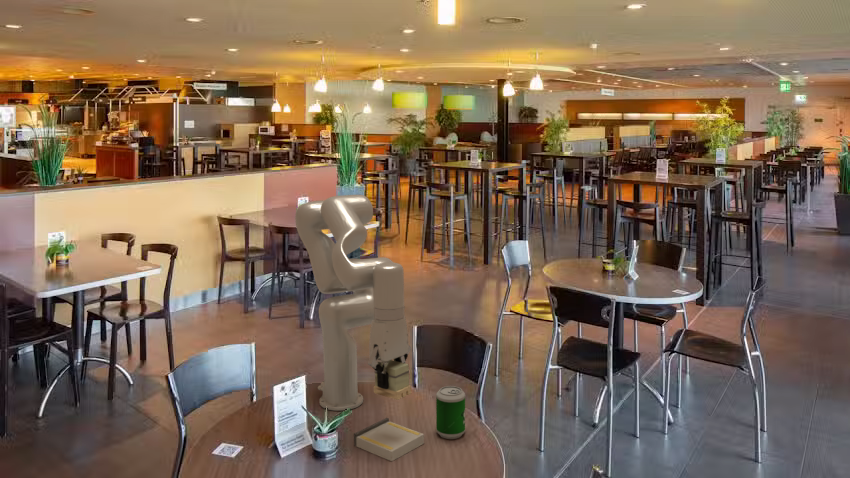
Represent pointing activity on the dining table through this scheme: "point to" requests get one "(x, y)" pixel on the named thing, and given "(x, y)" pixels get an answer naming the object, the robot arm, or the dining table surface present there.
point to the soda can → (450, 412)
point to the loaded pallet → (393, 394)
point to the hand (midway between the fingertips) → (390, 383)
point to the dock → (388, 439)
